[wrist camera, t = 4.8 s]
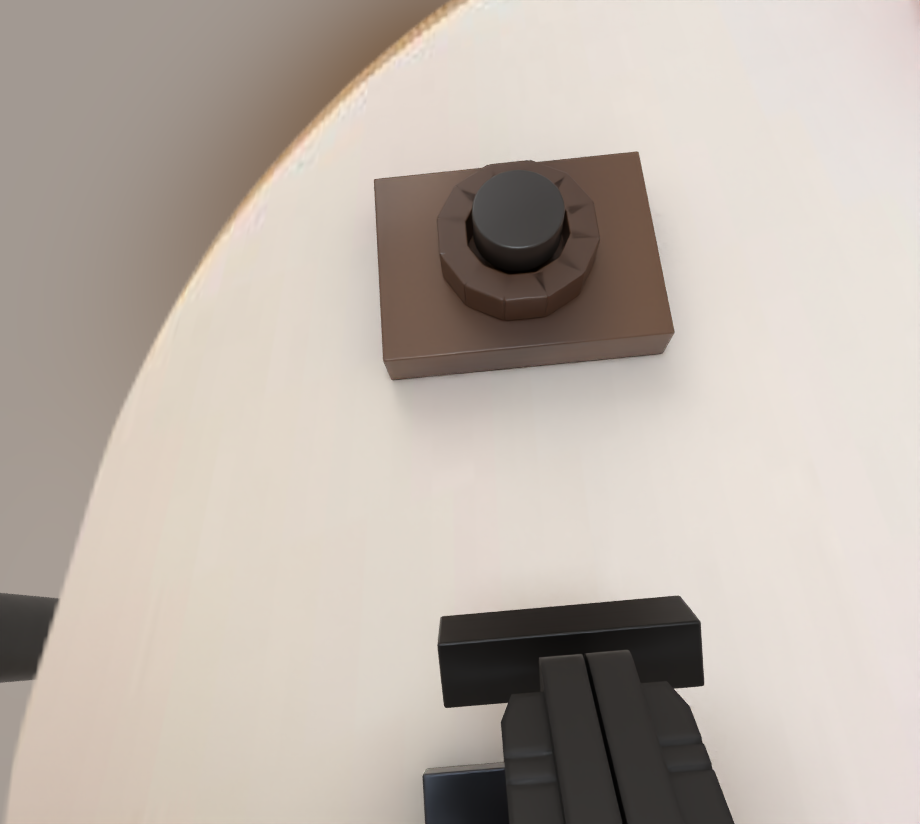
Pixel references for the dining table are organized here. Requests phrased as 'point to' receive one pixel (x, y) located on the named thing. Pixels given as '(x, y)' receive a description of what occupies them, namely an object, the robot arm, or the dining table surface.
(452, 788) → the pivot stand
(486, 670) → the lever handle
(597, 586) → the dining table surface
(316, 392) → the dining table surface
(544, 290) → the button block
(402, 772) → the dining table surface
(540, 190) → the desk button
